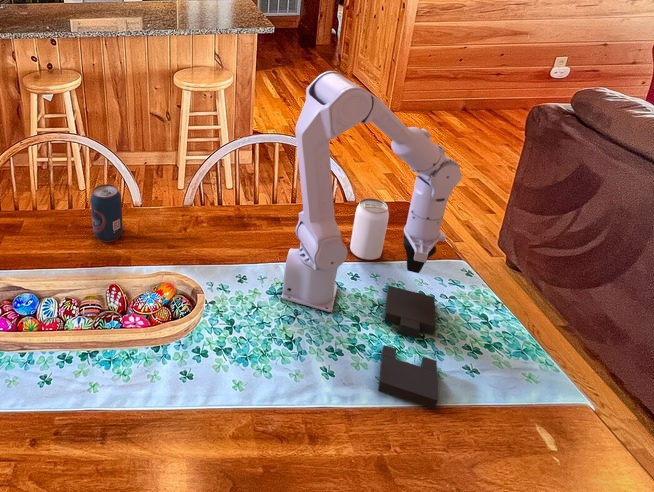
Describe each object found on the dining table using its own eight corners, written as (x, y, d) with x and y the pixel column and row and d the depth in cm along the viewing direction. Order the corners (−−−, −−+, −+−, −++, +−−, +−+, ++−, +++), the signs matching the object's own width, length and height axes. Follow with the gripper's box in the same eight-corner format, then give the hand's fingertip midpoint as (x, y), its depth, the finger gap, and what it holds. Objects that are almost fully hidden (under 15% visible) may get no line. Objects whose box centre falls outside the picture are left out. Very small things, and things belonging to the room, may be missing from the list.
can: (383, 262, 108) (393, 214, 103) (351, 259, 109) (359, 212, 104) (378, 244, 113) (387, 198, 108) (347, 241, 114) (355, 195, 110)
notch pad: (378, 390, 80) (380, 381, 79) (381, 353, 86) (383, 344, 85) (435, 409, 76) (437, 400, 76) (434, 369, 83) (436, 360, 82)
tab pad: (383, 328, 91) (385, 320, 90) (386, 293, 99) (388, 285, 98) (433, 343, 88) (435, 334, 87) (432, 305, 96) (434, 296, 95)
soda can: (87, 234, 119) (83, 190, 114) (111, 222, 123) (108, 179, 118) (105, 247, 114) (102, 202, 109) (129, 234, 119) (127, 190, 114)
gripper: (452, 238, 87) (436, 299, 93) (449, 197, 99) (434, 253, 105) (407, 228, 90) (394, 288, 96) (409, 190, 102) (397, 245, 107)
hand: (413, 269), depth 100 cm, fingers closed
